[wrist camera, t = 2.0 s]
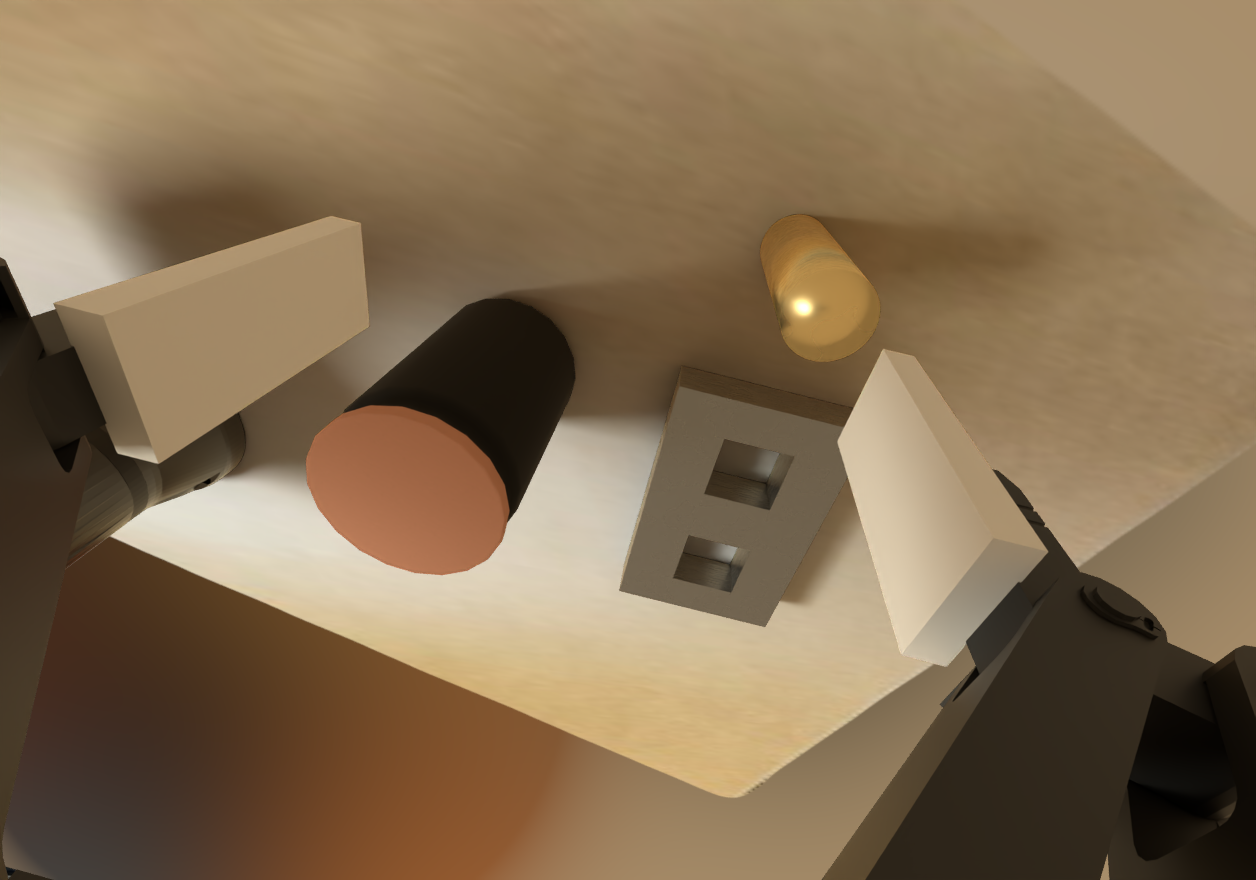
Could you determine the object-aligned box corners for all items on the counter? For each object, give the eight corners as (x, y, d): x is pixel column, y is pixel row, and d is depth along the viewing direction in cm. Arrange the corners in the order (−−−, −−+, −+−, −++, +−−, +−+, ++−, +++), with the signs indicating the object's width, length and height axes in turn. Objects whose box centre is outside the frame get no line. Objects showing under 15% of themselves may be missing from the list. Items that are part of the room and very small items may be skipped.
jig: (624, 563, 53) (619, 590, 51) (681, 365, 41) (679, 386, 38) (762, 597, 53) (765, 627, 51) (860, 410, 41) (871, 434, 38)
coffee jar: (427, 303, 41) (264, 423, 26) (559, 282, 39) (464, 400, 24) (473, 423, 47) (360, 579, 32) (592, 411, 45) (530, 572, 30)
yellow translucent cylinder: (751, 274, 37) (766, 349, 26) (773, 206, 35) (800, 258, 24) (813, 289, 37) (854, 371, 26) (840, 223, 35) (898, 283, 24)
